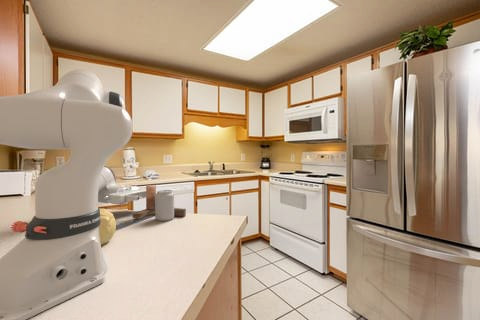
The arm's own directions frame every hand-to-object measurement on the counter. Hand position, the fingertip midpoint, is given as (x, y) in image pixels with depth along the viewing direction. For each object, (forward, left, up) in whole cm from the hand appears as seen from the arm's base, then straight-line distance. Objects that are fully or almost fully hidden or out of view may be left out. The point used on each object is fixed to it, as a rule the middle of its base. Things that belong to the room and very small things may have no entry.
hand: (145, 196), depth 101 cm
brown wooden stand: (-2, -9, -8) cm, 12 cm away
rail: (-9, -3, -9) cm, 13 cm away
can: (-2, -11, -9) cm, 14 cm away
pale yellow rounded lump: (-31, -7, -9) cm, 33 cm away
